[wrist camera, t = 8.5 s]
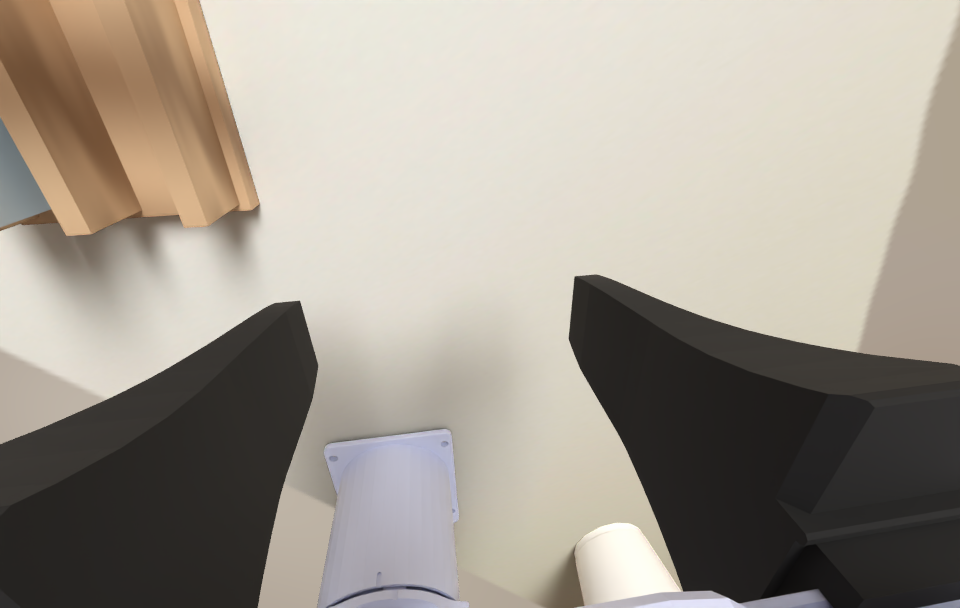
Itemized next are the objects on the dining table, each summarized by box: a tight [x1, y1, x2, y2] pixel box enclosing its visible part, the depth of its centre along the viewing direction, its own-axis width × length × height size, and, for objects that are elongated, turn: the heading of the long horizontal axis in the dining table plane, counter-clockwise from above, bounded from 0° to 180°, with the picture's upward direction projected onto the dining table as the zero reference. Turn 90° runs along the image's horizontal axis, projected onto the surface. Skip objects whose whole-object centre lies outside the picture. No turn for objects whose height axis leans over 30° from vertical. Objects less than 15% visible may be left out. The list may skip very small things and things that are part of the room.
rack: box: [0, 0, 260, 236], centre depth 14 cm, size 9×9×4 cm
